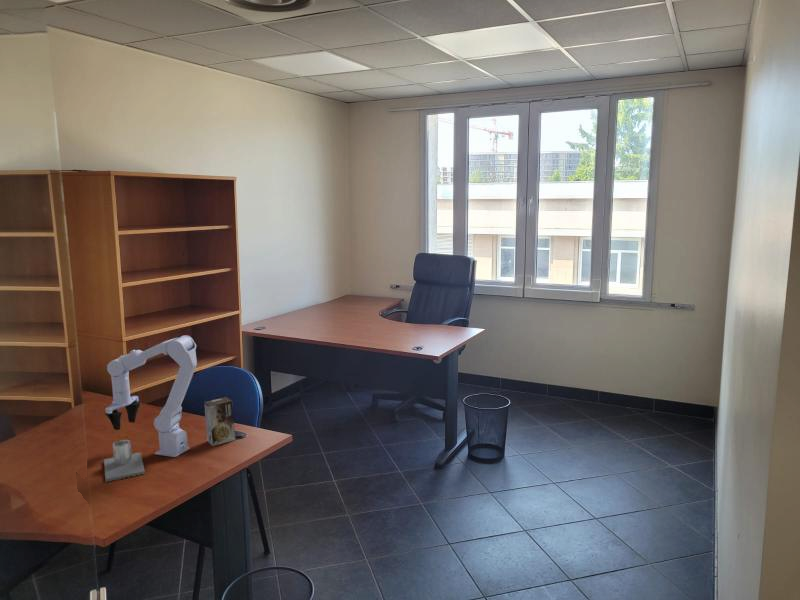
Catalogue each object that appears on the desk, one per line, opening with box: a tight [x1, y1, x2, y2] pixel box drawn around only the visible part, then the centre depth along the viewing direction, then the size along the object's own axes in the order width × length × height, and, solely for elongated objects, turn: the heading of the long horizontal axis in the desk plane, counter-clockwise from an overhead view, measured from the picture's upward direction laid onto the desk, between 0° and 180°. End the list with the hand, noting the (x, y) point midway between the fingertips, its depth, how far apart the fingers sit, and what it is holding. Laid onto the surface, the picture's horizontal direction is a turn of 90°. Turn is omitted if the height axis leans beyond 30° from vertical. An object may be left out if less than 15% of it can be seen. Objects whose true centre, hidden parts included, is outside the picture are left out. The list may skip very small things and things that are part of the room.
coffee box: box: [203, 396, 236, 447], centre depth 224 cm, size 9×6×16 cm
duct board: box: [103, 451, 146, 483], centre depth 203 cm, size 12×18×4 cm, turn 28°
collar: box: [112, 439, 133, 465], centre depth 205 cm, size 6×6×7 cm
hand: (124, 425), depth 216 cm, fingers open, 7 cm apart
